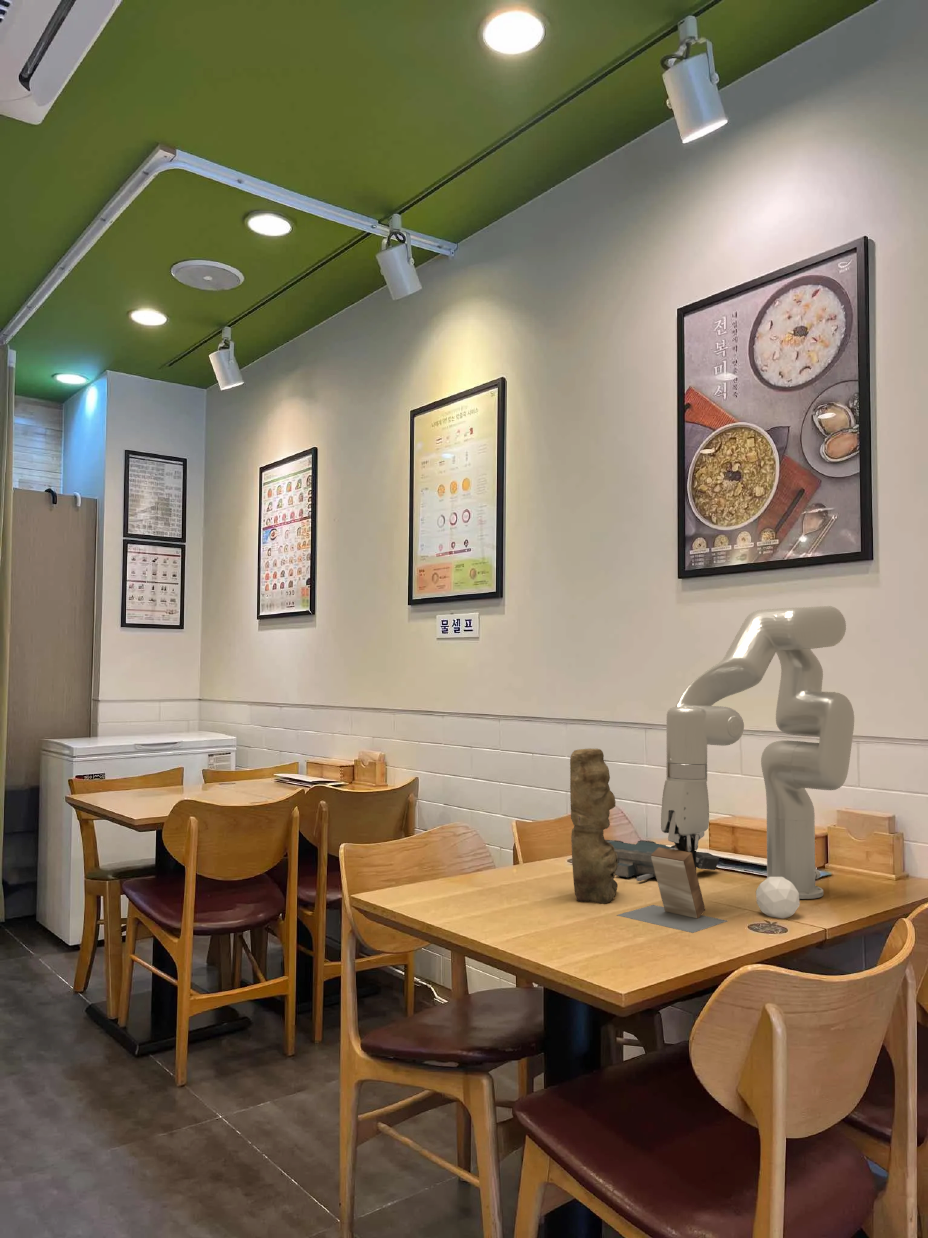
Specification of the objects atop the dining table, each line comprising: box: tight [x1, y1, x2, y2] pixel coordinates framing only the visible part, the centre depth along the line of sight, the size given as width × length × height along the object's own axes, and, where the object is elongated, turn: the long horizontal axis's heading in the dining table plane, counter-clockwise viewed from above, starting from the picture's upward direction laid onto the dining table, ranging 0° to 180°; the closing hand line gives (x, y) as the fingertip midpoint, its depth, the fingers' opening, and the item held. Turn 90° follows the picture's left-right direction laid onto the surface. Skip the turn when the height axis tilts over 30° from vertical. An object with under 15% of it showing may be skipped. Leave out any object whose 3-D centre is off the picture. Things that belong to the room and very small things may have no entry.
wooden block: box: [651, 847, 706, 919], centre depth 170 cm, size 3×7×12 cm, turn 45°
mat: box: [616, 904, 728, 934], centre depth 168 cm, size 12×16×1 cm
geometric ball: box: [755, 877, 801, 919], centre depth 172 cm, size 8×8×8 cm
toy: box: [605, 839, 720, 882], centre depth 215 cm, size 27×9×30 cm
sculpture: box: [569, 748, 618, 905], centre depth 186 cm, size 12×9×30 cm
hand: (686, 871), depth 173 cm, fingers closed
